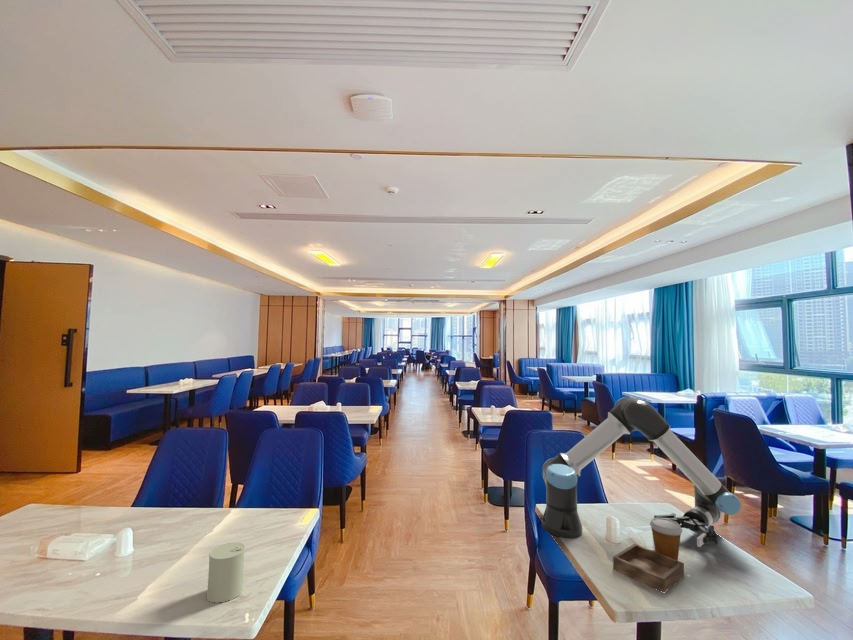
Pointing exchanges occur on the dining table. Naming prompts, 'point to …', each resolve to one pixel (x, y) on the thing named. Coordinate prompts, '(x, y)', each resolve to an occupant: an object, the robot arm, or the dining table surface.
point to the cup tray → (648, 567)
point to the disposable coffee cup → (666, 537)
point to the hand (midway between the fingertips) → (675, 534)
